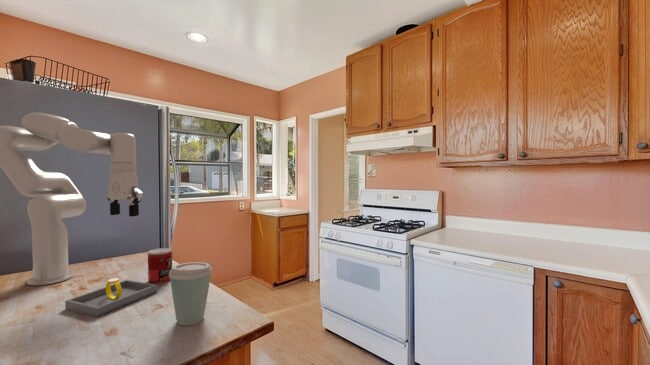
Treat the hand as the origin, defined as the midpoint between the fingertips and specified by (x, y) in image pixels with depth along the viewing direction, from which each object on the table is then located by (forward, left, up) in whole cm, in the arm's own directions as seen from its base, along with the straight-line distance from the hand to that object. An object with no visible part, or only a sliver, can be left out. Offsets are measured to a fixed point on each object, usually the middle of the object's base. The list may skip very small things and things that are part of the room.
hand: (124, 215), depth 104 cm
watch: (+12, -12, -24) cm, 29 cm away
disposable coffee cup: (+44, -13, -24) cm, 52 cm away
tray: (+12, -12, -24) cm, 30 cm away
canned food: (+10, +6, -24) cm, 27 cm away
